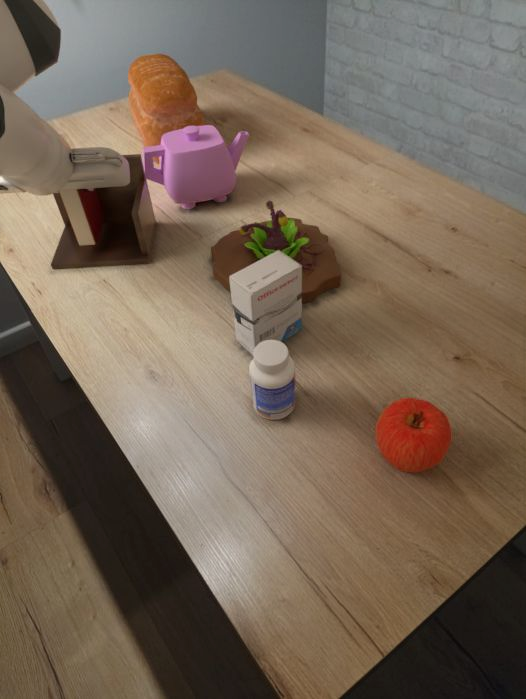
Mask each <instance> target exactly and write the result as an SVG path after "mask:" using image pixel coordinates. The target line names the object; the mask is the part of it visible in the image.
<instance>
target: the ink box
mask: <svg viewBox="0 0 526 699" xmlns="http://www.w3.org/2000/svg"><path fill="white" fill-rule="evenodd" d="M229 281H230V289H231V293H230V296H231V297H230V298H231V304H232V305H231V307H232V314H233V322H234V331H235V339H236V341H237V342H238V343H239V344H240V345H241V346H242V347H243V348H244V350H246V351H247V352H248V353H249V354H250V355H252V357H254V355H253V353H254V349H255V347H256V346H257V345H258V344H259V343H261V342H263V341H266V340H277V341H280V342H282V343H284V341H286V340H288V339H290V337H292V336H294V335H295V334H296V333H298V332H300V331H301V330H302V317H303V315H302V312H303V310H302V308H303V304H302V265H301V264H299V263H298V262H296V261H295V260H293V259H292V258H290V257H289V256H287V255H286V254H284V253H283V252H281V251H280V250H277V251H276V252H274V253H272V254H270V255H268V256H266V257H265V258H263V259H261V260H259V261H257V262H255V263H253V264H251V265H250V266H248V267H246V268H244V269H242V270H240V271H238V272H236V273H234V274H232V275H231V276H229Z"/></svg>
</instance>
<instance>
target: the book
mask: <svg viewBox="0 0 526 699" xmlns="http://www.w3.org/2000/svg"><path fill="white" fill-rule="evenodd" d="M59 194H60V196H61V199H62V202H63V204H64V207H65V210H66V212H67V215H68V218H69V221H70V223H71V226H72V229H73V231H74V234H75V237H76V239H77V242H78V245H79V246H83V245H97V242H98V239H99V235H100V232H101V228H102V225H103V222H104V218H105V217H104V214H103V210H102V207H101V204H100V201H99V197H98V194H97V191H96V188H94V190H93V191H83V190H82V189H70V190H59Z"/></svg>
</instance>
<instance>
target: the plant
mask: <svg viewBox="0 0 526 699" xmlns="http://www.w3.org/2000/svg"><path fill="white" fill-rule="evenodd" d="M265 207H266V209H268V210H269V211H270V214H269V215H270V219H271V220H266V221H260V222H257V221H254V222H253V223H249V224H244V225H241V226H240V227H239V229H235V230H232V231H230V232H229V233H228V234H225V235H224V236H222V237H220V238H219V239H218V240H217V242H216V243H215V244H214V245H212V246H211V247H210V256H211V260H212V261H214V262H213V263H212V272H213V276H214V278H215V279H216V281H218V282H219V283H220V285H221V286H222V287H223V288H224V289H225V290H226V291H228V292H229V294H231V289H230V281H229V276H231V275H232V274H234V273H236V272H238V271H240V270H242V269H244V268H246V267H248V266H250V265H251V264H253V263H255V262H257V261H259V260H261V259H263V258H265V257H266V256H268V255H270V254H272V253H274V252H276V251H277V250H280V251H281V252H283V253H284V254H286V255H287V256H289V257H290V258H292V259H293V260H295V261H296V262H298V263H299V264H301V265H302V305H304V304H306V303H311V302H314V301H315V299H316V298H318V297H319V295H320V294H321V293H323V292H326V291H328V290H331V289H333V288H337V287H340V286H341V284H342V269H341V265H340V263H339V261H338V260H337V256H336V252H335V251H336V250H334V248H333V247H332V246H331V245H330V244H329V235H328V234H324V233H322V232H321V229H320V227H319V226H318V225H314V224H306V223H303V221H302V219H300V218H296V217H288V216H287V214H285V213H284V211H282V210H281V209H278V210H276V211H275V208H274V207H275V203H274V202H273V201H272V200H268V201H266V203H265Z"/></svg>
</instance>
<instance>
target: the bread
mask: <svg viewBox="0 0 526 699" xmlns="http://www.w3.org/2000/svg"><path fill="white" fill-rule="evenodd" d="M127 72H128V73H127V81H128V83H129V86H130V88H129V95H128V102H129V104H128V105H129V110H130V114H131V116H132V119H133V122H134V124H135V127H136V129H137V131H138V133H139V137H140V138H141V139H142V144H143V146H144V147H151V146H157V145H161V139H162V136H163V135H164V134H165V133H168V132H171V131H175V130H179V129H184V128H185V127H187V126H204V125H207V124H206V120H205V117H204V114H203V112H202V111H201V110H202V109H201V108H200V107H199V105H198V95H197V92H196V89H195V87H194V86H193V84H192V83H191V80H190V78H189V75H188V73H187V72H186V70H185V69H184V68H182V66H180V65H179V63H178V61H176V60H175V59H173V58H172V57H171V56H170V55H167V54H164V53H153V54H147V55H141V56H139V57H137V58H136V59H135V60H134V61H133V62H132V63H131V64H130V66H129V68H128V71H127ZM144 147H143V148H144ZM153 162H154V163H157V164H159V165H160V163H159V157H153Z"/></svg>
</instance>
